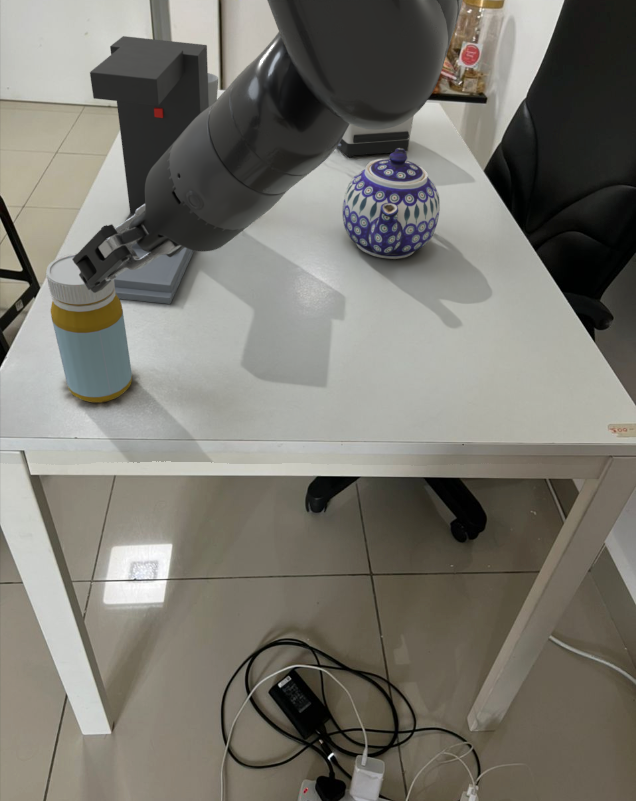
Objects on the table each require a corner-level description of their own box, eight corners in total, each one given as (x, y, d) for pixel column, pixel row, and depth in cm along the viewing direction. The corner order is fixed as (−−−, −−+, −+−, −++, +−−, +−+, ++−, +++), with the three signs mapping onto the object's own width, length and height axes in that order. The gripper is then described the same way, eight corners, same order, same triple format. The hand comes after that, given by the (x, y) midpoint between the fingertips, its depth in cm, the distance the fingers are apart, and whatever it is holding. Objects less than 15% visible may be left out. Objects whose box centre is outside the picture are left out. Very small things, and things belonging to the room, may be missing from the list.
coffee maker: (170, 304, 86) (153, 104, 69) (81, 294, 86) (43, 92, 69) (212, 210, 108) (206, 41, 91) (140, 202, 108) (122, 32, 91)
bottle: (86, 414, 69) (60, 295, 59) (57, 380, 73) (28, 263, 63) (144, 389, 73) (129, 273, 63) (114, 358, 77) (95, 244, 67)
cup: (220, 114, 144) (219, 73, 138) (216, 130, 136) (215, 87, 130) (186, 112, 143) (184, 70, 137) (180, 127, 136) (177, 84, 130)
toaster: (412, 156, 134) (429, 65, 123) (301, 165, 126) (308, 68, 114) (364, 118, 150) (374, 34, 138) (262, 124, 141) (264, 35, 130)
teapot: (353, 205, 114) (363, 118, 104) (436, 219, 112) (455, 132, 103) (324, 273, 95) (333, 176, 86) (423, 291, 94) (445, 194, 84)
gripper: (259, 106, 49) (165, 202, 61) (108, 154, 40) (34, 254, 52) (309, 195, 50) (208, 271, 62) (174, 260, 41) (86, 334, 53)
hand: (129, 263), depth 57 cm, fingers open, 8 cm apart
